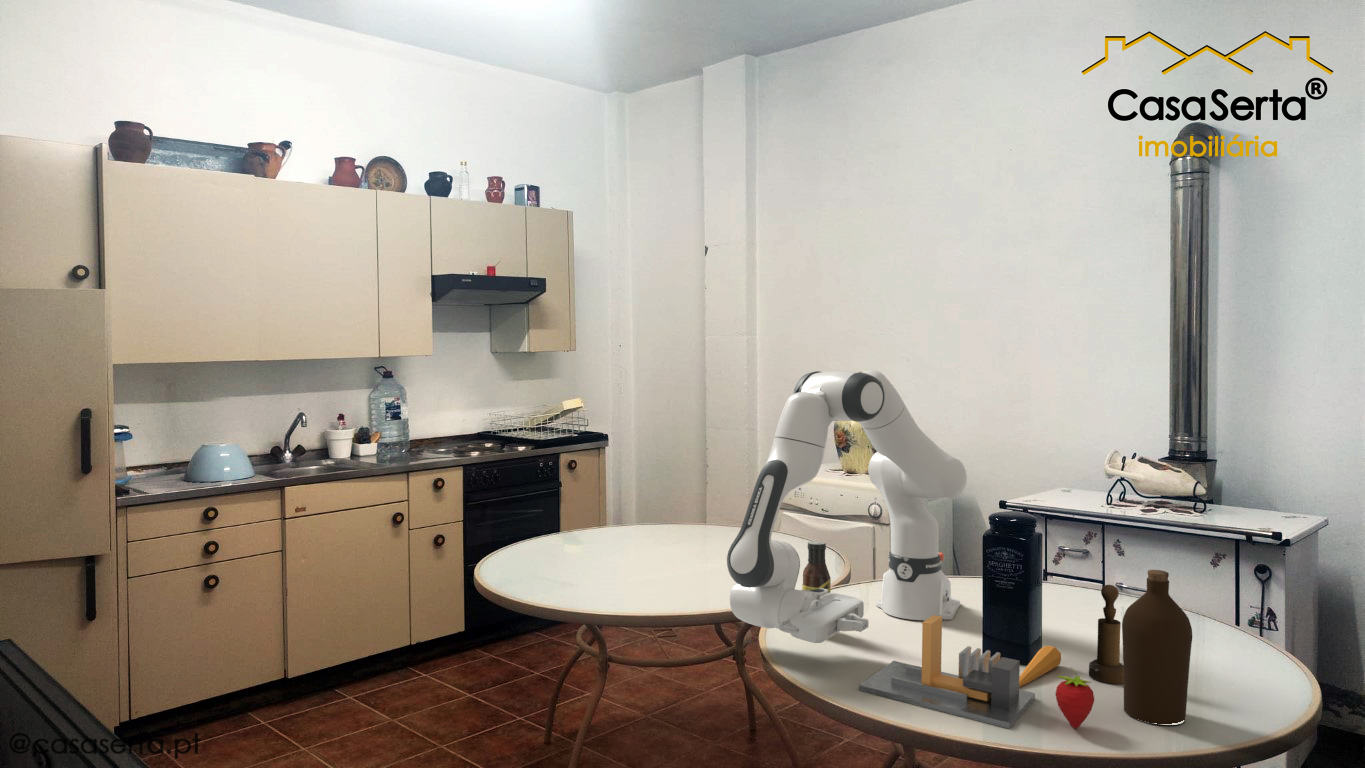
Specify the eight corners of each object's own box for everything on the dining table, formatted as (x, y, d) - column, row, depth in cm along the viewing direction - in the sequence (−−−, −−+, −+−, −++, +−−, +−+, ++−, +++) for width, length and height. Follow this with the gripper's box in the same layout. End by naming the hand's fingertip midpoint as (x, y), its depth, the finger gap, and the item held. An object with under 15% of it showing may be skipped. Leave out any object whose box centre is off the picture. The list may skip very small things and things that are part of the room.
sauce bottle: (829, 636, 191) (830, 546, 190) (800, 634, 192) (801, 545, 192) (830, 627, 197) (831, 540, 197) (802, 625, 199) (803, 539, 198)
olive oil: (1142, 728, 145) (1146, 580, 144) (1107, 703, 156) (1111, 564, 155) (1203, 727, 146) (1208, 579, 145) (1165, 702, 156) (1169, 564, 155)
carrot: (1047, 666, 176) (1038, 644, 177) (1068, 663, 173) (1059, 641, 174) (1005, 704, 162) (995, 680, 163) (1027, 701, 159) (1017, 677, 160)
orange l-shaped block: (932, 678, 163) (933, 614, 163) (995, 693, 156) (996, 626, 156) (921, 687, 159) (922, 622, 158) (985, 702, 152) (987, 634, 152)
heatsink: (893, 665, 173) (894, 625, 173) (1035, 698, 157) (1036, 654, 157) (858, 690, 161) (859, 647, 160) (1009, 728, 145) (1010, 681, 144)
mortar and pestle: (1128, 676, 169) (1130, 584, 168) (1125, 687, 163) (1128, 592, 163) (1090, 669, 172) (1092, 579, 172) (1087, 680, 167) (1089, 586, 166)
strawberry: (1051, 732, 143) (1053, 672, 143) (1057, 716, 150) (1058, 658, 150) (1091, 740, 140) (1092, 679, 140) (1095, 723, 147) (1096, 664, 147)
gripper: (776, 611, 168) (841, 624, 160) (825, 586, 185) (886, 596, 177) (776, 643, 169) (841, 657, 161) (825, 615, 185) (886, 627, 177)
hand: (865, 625), depth 169 cm, fingers closed
